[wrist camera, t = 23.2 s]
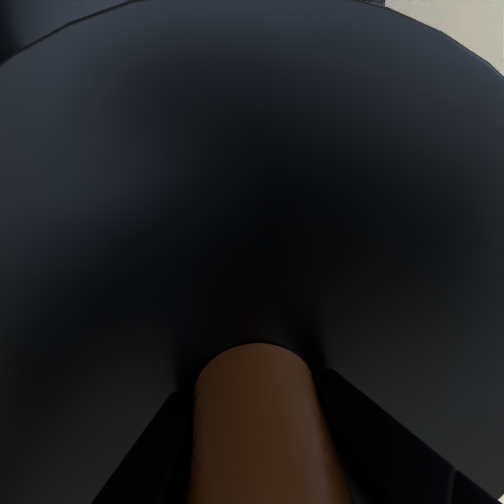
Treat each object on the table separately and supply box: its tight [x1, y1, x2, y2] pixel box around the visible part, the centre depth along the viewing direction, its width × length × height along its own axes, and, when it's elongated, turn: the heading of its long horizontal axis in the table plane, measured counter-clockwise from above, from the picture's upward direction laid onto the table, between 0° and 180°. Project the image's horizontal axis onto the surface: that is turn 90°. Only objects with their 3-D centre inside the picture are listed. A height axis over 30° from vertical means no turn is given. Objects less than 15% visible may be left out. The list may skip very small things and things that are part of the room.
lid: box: [0, 0, 504, 504], centre depth 8 cm, size 15×15×5 cm
